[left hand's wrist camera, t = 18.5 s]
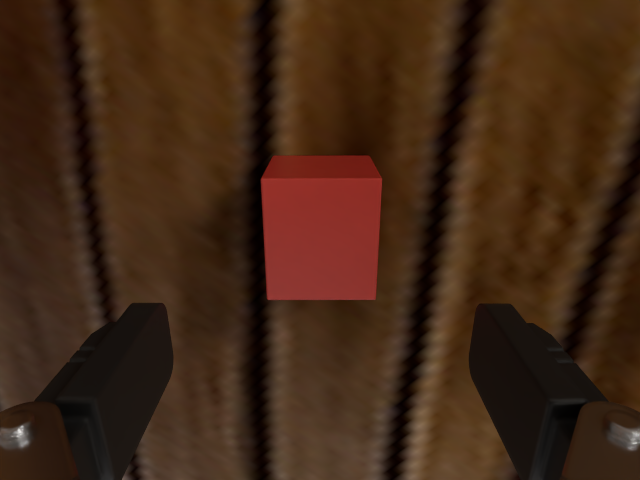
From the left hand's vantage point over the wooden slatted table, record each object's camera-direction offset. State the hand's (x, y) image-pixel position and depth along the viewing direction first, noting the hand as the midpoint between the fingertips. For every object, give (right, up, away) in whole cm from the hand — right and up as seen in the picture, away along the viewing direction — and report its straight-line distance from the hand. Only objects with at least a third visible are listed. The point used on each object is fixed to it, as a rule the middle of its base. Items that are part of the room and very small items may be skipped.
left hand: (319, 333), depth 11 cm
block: (0, +4, +10) cm, 11 cm away
